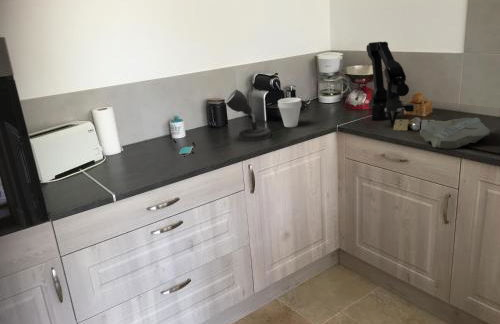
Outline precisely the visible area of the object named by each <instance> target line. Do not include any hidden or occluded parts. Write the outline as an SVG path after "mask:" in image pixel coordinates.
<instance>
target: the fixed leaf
mask: <svg viewBox="0 0 500 324" xmlns="http://www.w3.org/2000/svg"><path fill="white" fill-rule="evenodd" d="M413 119H415V120H416V121H415V122H413V123H412V128H411V129H412V130H413V131H414V132H415V131H416V132H417V131H420V130H421V129H422V128H423V127H424V126H425V125H426V123H429V122H431V121H436V120H435V119H421V118H420V117H414V118H413Z"/></svg>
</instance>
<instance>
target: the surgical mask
mask: <svg viewBox="0 0 500 324" xmlns="http://www.w3.org/2000/svg"><path fill="white" fill-rule="evenodd" d="M172 141H173V142H174V143H175V144H177V141H176V139H173V140H172ZM191 144H192V145H193V146H185V147H184V148H183V147H181V148H180V151H179V153H178V155H180V156H182V157H184V158H186V157H185V156H188V155H189V154H191V153H192V155H194V154H195V152H194V151H192V150H193V149H192V148H194V146H196V144H195V142H194V141H192V142H191Z"/></svg>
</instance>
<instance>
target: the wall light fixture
mask: <svg viewBox="0 0 500 324" xmlns="http://www.w3.org/2000/svg"><path fill="white" fill-rule="evenodd" d="M225 104H226V106H227V107H228V108H229V109H231V110H232V111H235V112H238V113H241V112H242V113H244V114H245V115H249V116H251V119H252V120H251V127H248V128H245V129H242V130H240V131H239V133H238V137H239V138H240V139H241V141H243V140H244V142H258V141H259V140H260V141H264V140H267V139H269V138H270V137H271V136H272V133H271V132H272V131H271V130H270V128H267V127H261V126H257V120H256V115H255V114H254V113H253V111H252V107H251V105H249V104H248V99H247V97H246V96H245V94H244V93H243V92H241V90H239V89H234V91H233V92H232V93H231V94H230V95H229V96H228V97H227V99H226V101H225ZM239 138H238V139H239ZM260 141H259V142H260Z"/></svg>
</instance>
